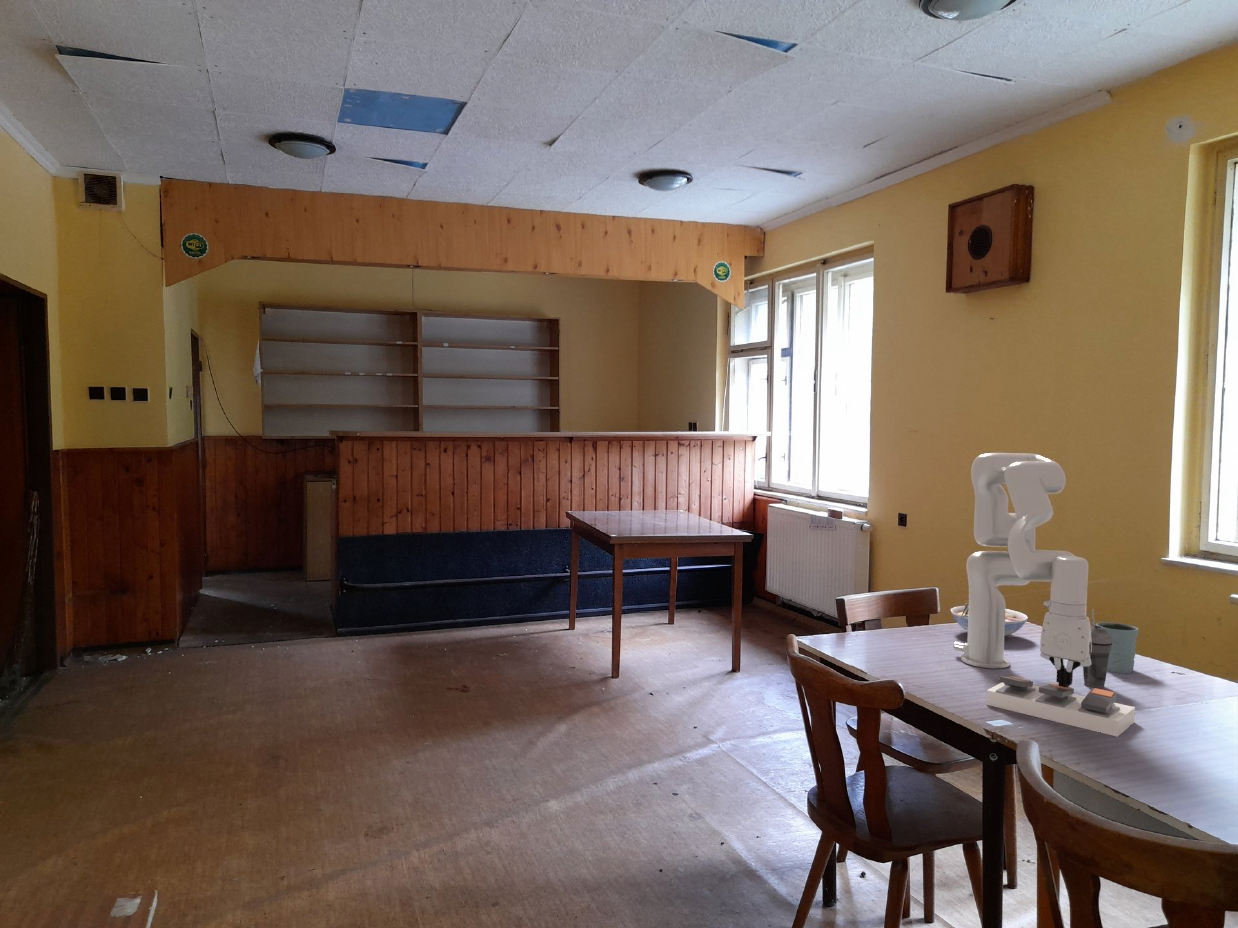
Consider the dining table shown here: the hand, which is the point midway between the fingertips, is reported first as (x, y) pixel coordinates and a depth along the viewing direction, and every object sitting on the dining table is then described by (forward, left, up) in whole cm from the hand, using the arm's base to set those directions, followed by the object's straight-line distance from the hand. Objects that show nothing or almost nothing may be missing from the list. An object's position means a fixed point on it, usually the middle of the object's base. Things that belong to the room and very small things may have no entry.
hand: (1064, 686), depth 198 cm
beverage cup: (-1, +28, -6) cm, 28 cm away
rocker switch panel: (0, -2, -6) cm, 6 cm away
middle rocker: (0, -4, -1) cm, 4 cm away
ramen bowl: (-41, +60, -6) cm, 73 cm away
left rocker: (-9, -4, -1) cm, 10 cm away
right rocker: (+9, -4, -1) cm, 10 cm away
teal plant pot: (-2, +50, -6) cm, 50 cm away
